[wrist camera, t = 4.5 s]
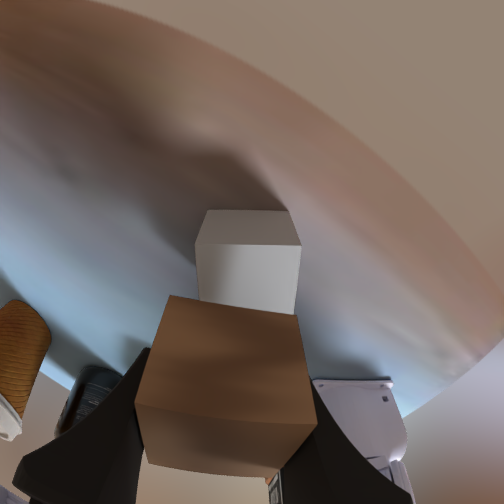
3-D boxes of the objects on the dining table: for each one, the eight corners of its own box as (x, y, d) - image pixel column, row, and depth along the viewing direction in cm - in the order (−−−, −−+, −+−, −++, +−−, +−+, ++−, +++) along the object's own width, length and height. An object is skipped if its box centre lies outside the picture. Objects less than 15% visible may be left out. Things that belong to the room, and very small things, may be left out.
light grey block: (288, 210, 18) (301, 245, 14) (282, 279, 21) (291, 326, 16) (207, 209, 18) (194, 243, 14) (210, 278, 20) (201, 325, 16)
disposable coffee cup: (38, 284, 21) (-37, 380, 10) (78, 361, 25) (36, 455, 14) (-15, 286, 21) (-77, 358, 10) (22, 353, 25) (-20, 427, 14)
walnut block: (296, 314, 11) (317, 424, 7) (267, 388, 14) (272, 477, 9) (169, 295, 11) (134, 402, 7) (167, 374, 13) (148, 463, 9)
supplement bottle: (70, 372, 26) (31, 458, 15) (102, 357, 24) (60, 461, 14) (113, 407, 29) (88, 491, 18) (150, 396, 27) (127, 496, 16)
